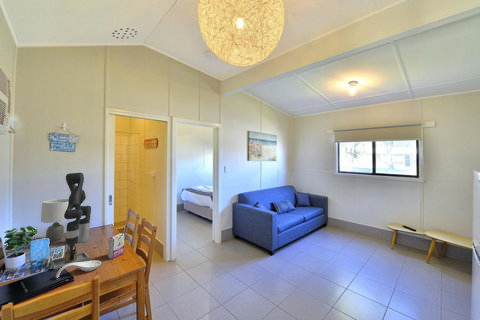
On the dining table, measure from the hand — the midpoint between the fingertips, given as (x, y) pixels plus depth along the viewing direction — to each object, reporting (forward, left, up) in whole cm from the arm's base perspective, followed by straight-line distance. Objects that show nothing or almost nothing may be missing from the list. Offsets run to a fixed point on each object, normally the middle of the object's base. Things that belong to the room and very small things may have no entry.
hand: (70, 258), depth 144 cm
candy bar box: (+13, +26, -3) cm, 29 cm away
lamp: (-64, 0, -3) cm, 64 cm away
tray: (0, 0, -3) cm, 3 cm away
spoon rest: (+21, +1, -3) cm, 21 cm away
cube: (0, 0, -1) cm, 1 cm away
